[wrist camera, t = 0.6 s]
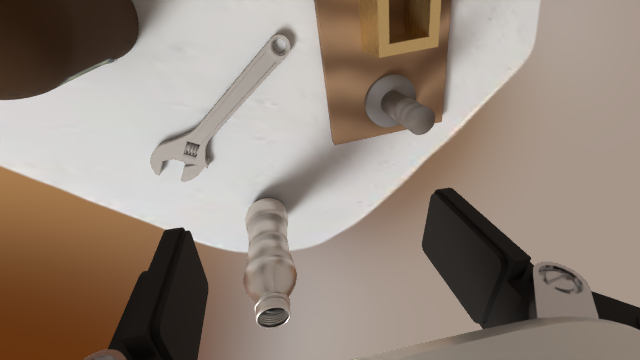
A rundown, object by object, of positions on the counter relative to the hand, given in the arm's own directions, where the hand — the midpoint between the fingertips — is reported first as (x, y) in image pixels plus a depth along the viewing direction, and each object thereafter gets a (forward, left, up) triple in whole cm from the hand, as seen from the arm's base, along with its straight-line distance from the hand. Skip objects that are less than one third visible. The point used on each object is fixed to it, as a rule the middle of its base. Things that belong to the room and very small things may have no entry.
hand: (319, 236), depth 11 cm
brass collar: (-5, +15, -30) cm, 34 cm away
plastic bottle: (+20, -6, -32) cm, 38 cm away
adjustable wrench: (+3, -7, -32) cm, 33 cm away
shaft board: (0, +15, -31) cm, 35 cm away
